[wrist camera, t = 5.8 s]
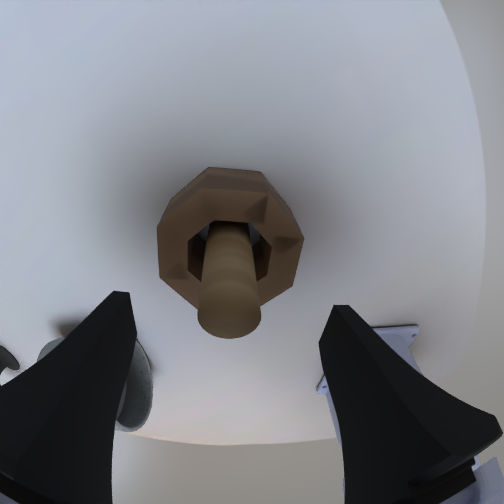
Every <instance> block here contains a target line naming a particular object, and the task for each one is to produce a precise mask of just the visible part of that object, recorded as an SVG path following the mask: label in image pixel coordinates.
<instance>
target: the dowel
mask: <svg viewBox="0 0 504 504" xmlns="http://www.w3.org/2000/svg"><path fill="white" fill-rule="evenodd" d="M198 321H199V324H200V325H201V327H202V328H203V329H204V330H205V331H206V332H208V333H209V334H211V335H213V336H216V337H220V338H226V339H233V338H239V337H243V336H245V335H248V334H249V333H251V332H252V331H254V330H255V329H256V328H257V326H258V325H259V323H260V321H261V310H260V303H259V295H258V288H257V281H256V274H255V266H254V259H253V252H252V245H251V238H250V230H249V223H247V222H234V221H221V220H213V221H212V222H211V223H210V224H209V228H208V235H207V242H206V249H205V257H204V264H203V272H202V280H201V288H200V297H199V306H198Z"/></svg>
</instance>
